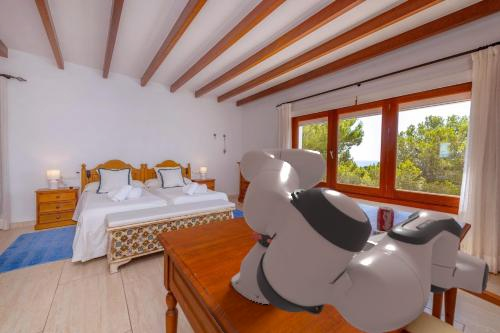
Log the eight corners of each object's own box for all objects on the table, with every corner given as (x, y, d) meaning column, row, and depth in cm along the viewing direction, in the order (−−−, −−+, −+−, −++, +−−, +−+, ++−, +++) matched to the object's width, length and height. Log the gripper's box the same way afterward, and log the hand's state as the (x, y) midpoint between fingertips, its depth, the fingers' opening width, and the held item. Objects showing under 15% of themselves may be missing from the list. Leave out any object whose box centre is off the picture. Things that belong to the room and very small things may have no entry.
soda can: (396, 233, 103) (397, 209, 103) (386, 234, 101) (387, 210, 100) (382, 228, 110) (383, 205, 109) (373, 230, 107) (374, 206, 107)
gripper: (387, 268, 58) (345, 247, 70) (426, 254, 67) (382, 238, 79) (389, 245, 57) (345, 229, 70) (427, 234, 67) (383, 222, 79)
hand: (365, 234), depth 75 cm, fingers open, 8 cm apart
